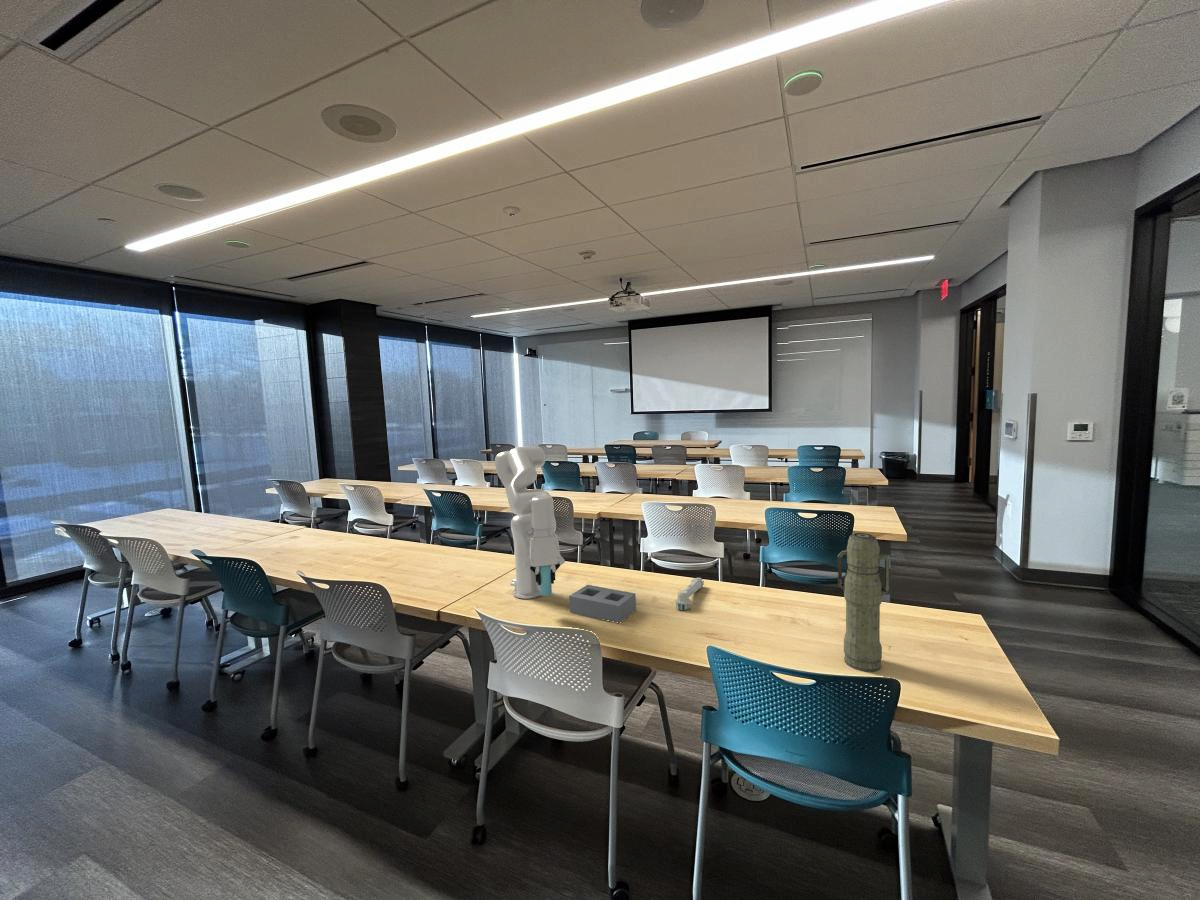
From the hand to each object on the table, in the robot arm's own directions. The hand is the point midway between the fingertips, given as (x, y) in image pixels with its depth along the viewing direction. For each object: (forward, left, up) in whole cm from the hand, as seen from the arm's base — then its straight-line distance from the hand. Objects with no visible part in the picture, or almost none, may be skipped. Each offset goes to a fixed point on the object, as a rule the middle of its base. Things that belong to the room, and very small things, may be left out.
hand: (545, 582), depth 166 cm
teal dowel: (0, 0, -4) cm, 4 cm away
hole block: (+16, +12, -12) cm, 23 cm away
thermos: (+96, +14, -12) cm, 97 cm away
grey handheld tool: (+39, +36, -12) cm, 54 cm away
